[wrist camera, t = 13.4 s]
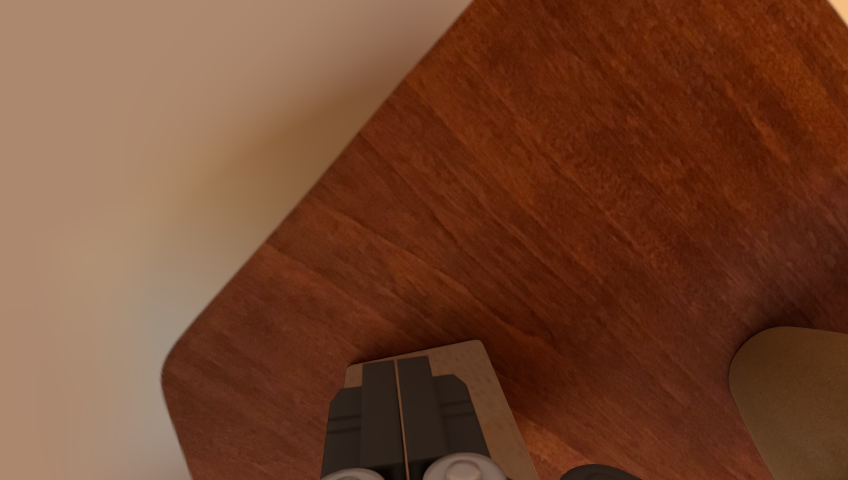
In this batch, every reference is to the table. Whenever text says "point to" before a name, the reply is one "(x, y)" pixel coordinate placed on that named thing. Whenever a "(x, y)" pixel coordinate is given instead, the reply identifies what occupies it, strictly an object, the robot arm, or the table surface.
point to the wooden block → (486, 398)
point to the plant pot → (795, 400)
